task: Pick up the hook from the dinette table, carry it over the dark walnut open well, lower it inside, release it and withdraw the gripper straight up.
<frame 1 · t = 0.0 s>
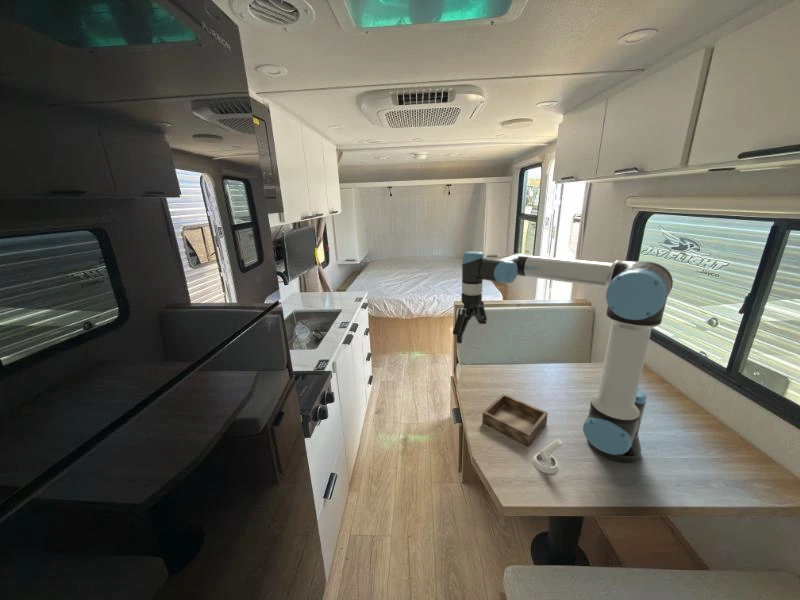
hand: (470, 343, 121), 28 cm above the table, fingers open, 13 cm apart
well: (514, 423, 117), on the table
hook: (545, 464, 99), on the table
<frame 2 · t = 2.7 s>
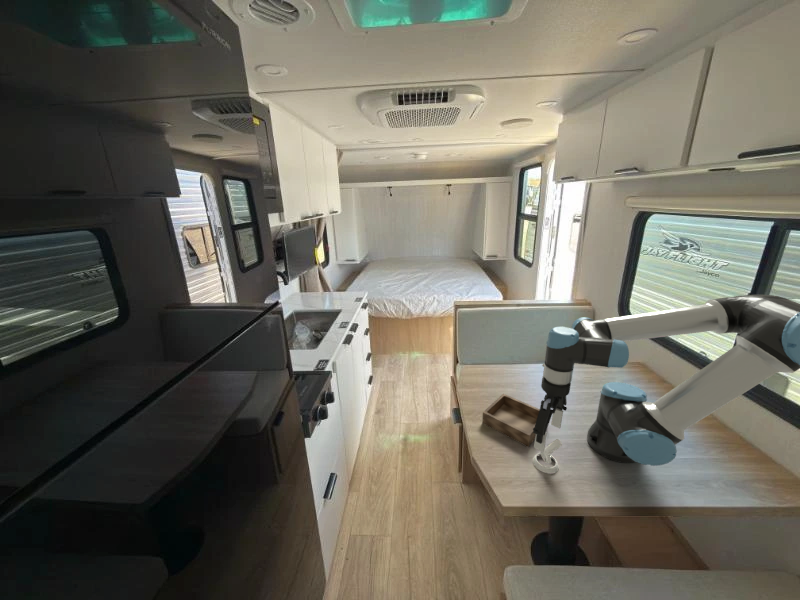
hand: (547, 437, 96), 11 cm above the table, fingers open, 13 cm apart
nothing on the table moved.
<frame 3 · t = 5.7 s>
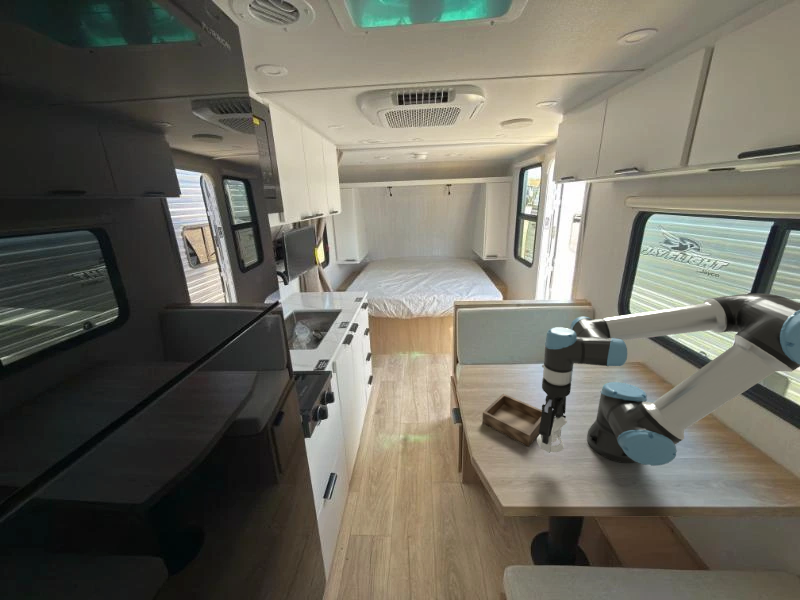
hand: (550, 442, 96), 9 cm above the table, fingers closed on hook, 8 cm apart
hook: (550, 443, 97), point 8 cm above the table, touching gripper
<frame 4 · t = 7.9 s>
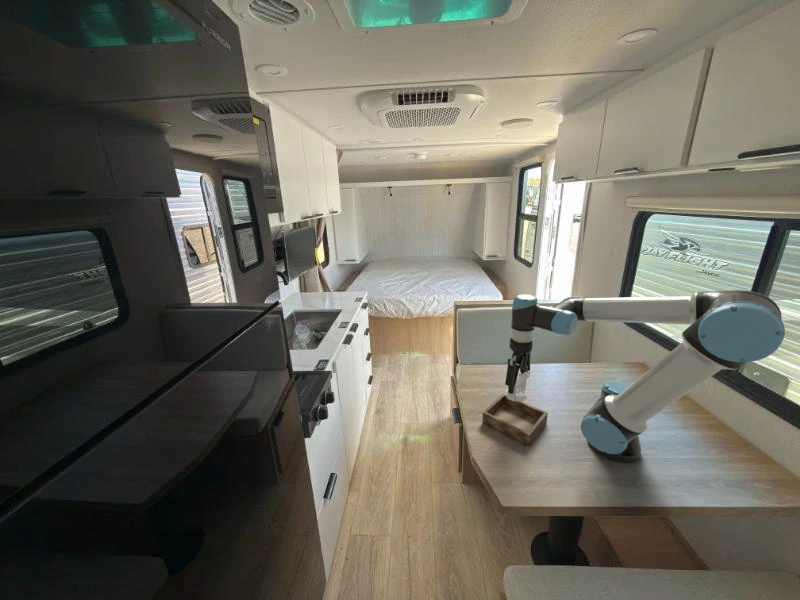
hand: (516, 394, 113), 13 cm above the table, fingers closed on hook, 8 cm apart
hook: (515, 395, 114), point 12 cm above the table, touching gripper
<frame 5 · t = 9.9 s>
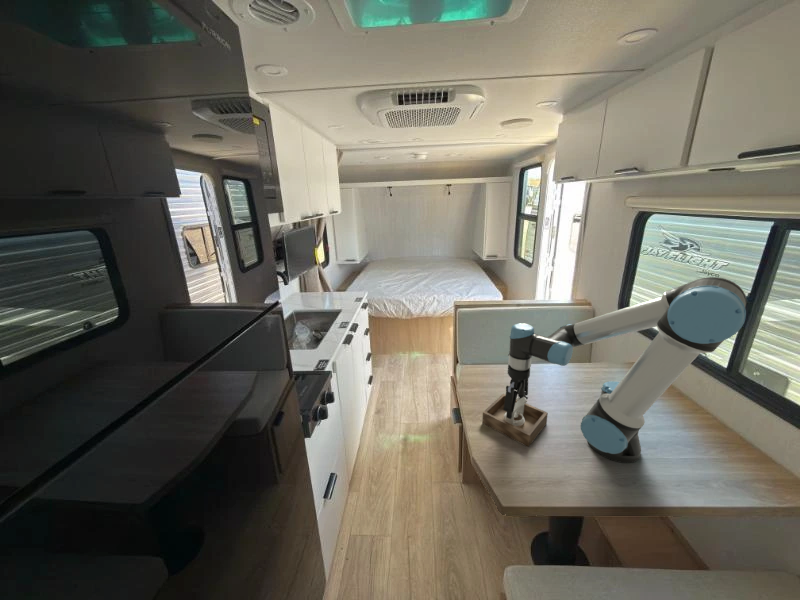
hand: (514, 418, 117), 2 cm above the table, fingers closed on hook, 8 cm apart
hook: (514, 419, 117), point 2 cm above the table, touching gripper
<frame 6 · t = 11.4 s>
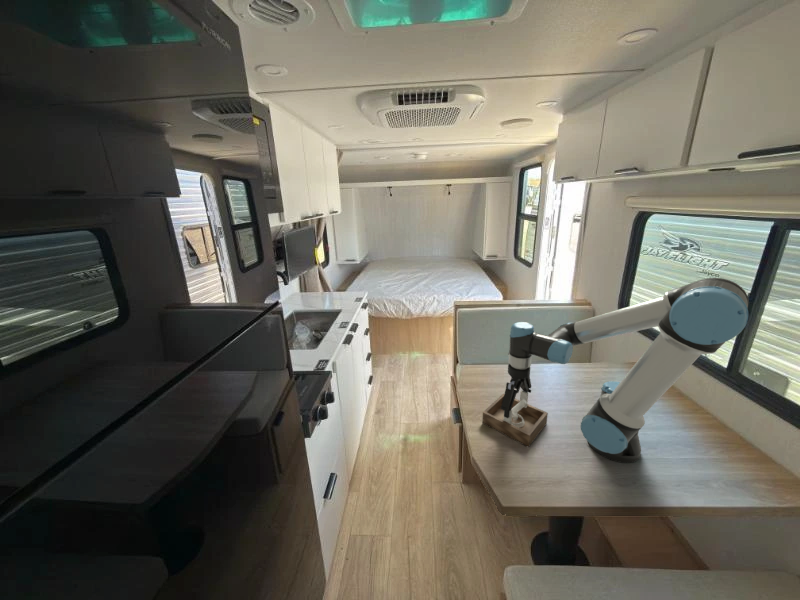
hand: (515, 414, 116), 4 cm above the table, fingers open, 13 cm apart
hook: (513, 421, 117), point 1 cm above the table, touching well
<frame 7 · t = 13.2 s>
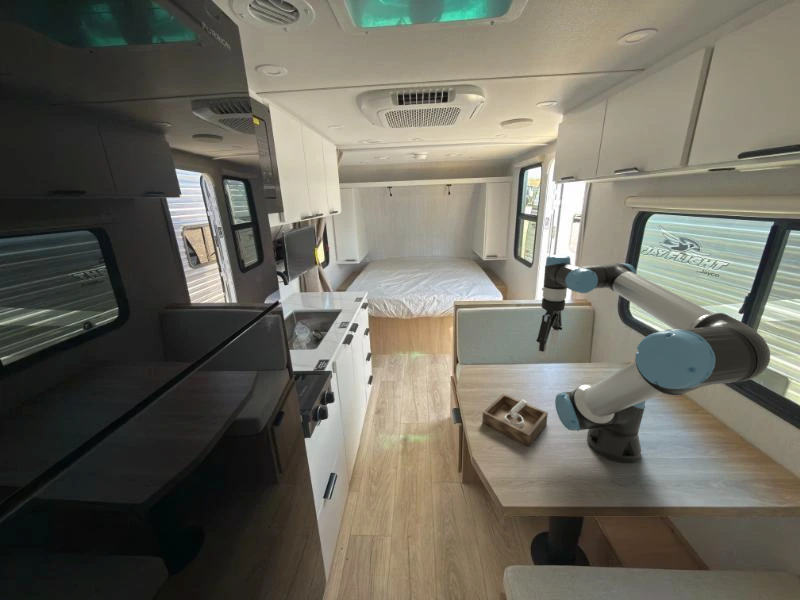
hand: (547, 351, 116), 26 cm above the table, fingers open, 13 cm apart
nothing on the table moved.
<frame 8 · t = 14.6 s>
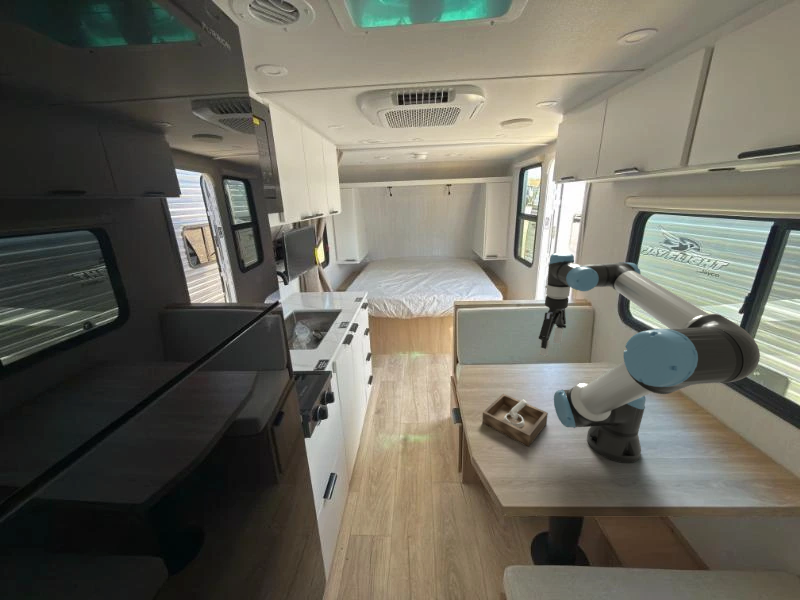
hand: (550, 348, 117), 27 cm above the table, fingers open, 13 cm apart
nothing on the table moved.
at the end: hook inside the target area on the well (0.1 cm from its centre), point 0.6 cm above the well's base; the gripper is holding nothing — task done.
